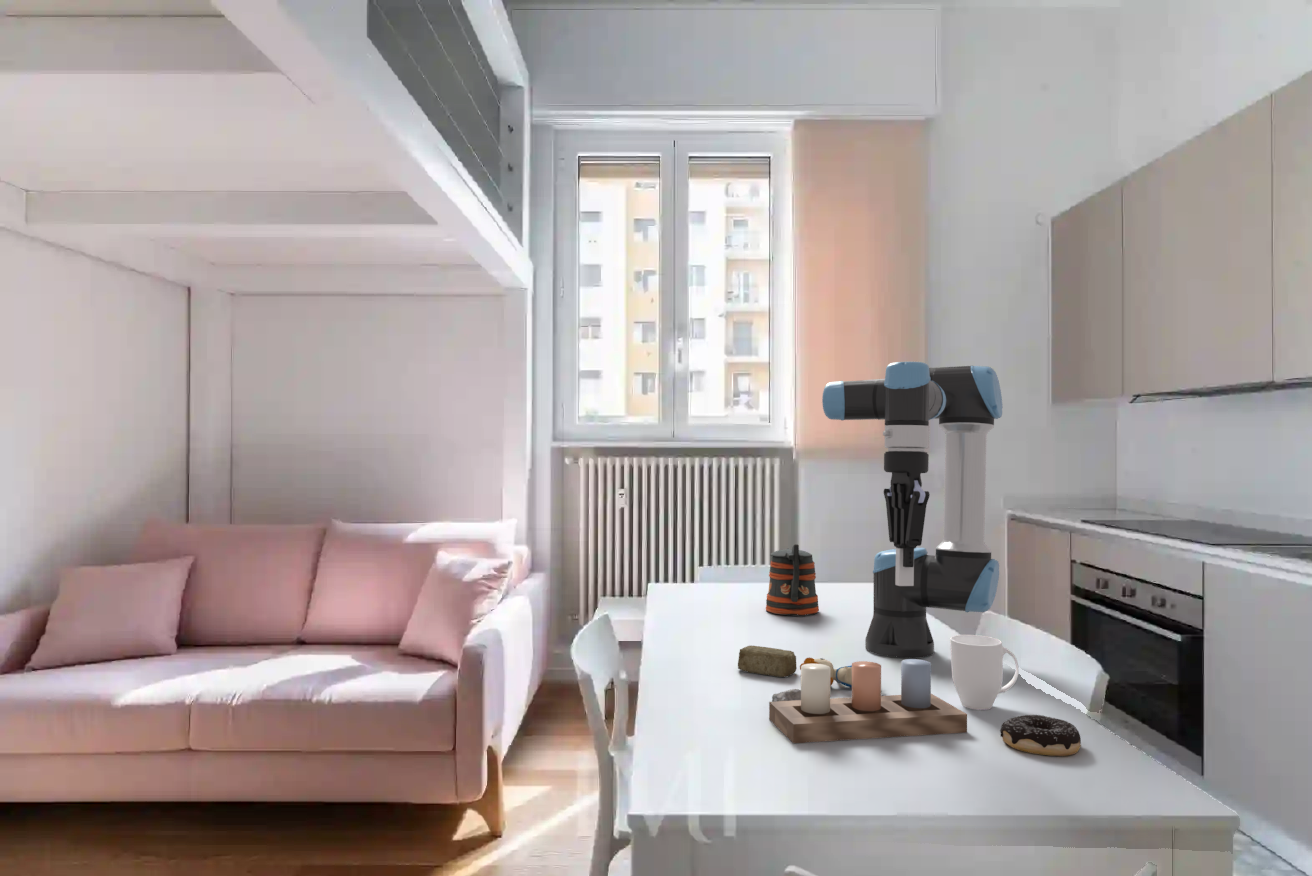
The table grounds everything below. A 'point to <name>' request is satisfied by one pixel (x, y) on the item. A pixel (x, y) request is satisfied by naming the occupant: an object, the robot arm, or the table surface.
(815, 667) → the white rounded cylinder
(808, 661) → the toy
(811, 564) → the beer stein
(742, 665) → the stone block
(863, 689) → the cap terracotta
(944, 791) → the table surface
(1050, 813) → the table surface
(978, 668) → the mug
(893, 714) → the wooden compartment tray
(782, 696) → the stone
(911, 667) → the cap slate
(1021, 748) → the donut
